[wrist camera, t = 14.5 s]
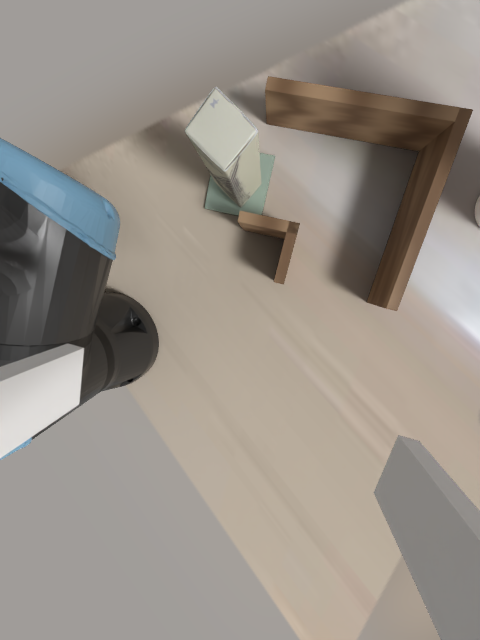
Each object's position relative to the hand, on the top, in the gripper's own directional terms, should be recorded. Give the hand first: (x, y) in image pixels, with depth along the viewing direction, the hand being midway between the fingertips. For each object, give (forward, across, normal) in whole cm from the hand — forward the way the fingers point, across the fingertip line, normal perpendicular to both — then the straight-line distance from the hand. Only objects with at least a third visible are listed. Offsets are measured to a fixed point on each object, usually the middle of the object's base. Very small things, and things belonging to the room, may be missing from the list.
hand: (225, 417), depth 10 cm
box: (+27, -7, +16) cm, 32 cm away
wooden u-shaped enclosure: (+27, +5, +15) cm, 31 cm away
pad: (+27, -7, +16) cm, 32 cm away
